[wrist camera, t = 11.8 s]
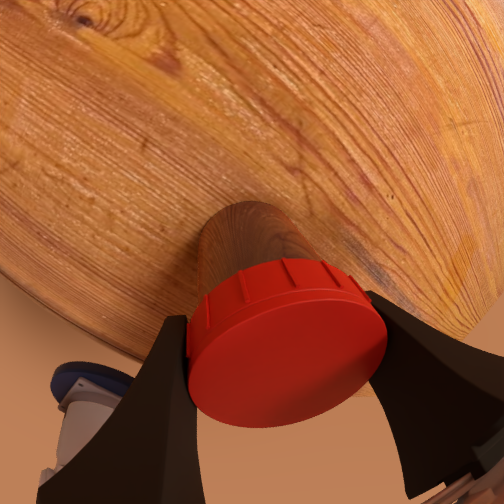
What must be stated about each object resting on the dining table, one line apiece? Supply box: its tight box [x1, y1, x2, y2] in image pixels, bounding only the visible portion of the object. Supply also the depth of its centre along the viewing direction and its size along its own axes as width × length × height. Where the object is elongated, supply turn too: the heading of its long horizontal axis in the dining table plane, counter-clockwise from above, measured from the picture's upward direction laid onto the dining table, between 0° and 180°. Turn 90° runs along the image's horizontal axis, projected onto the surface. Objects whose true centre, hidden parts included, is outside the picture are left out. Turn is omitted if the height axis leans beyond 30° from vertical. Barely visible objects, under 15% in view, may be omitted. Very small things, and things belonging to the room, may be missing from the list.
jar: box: [198, 201, 322, 306], centre depth 11 cm, size 5×5×8 cm
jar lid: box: [186, 258, 388, 428], centre depth 8 cm, size 6×6×2 cm
